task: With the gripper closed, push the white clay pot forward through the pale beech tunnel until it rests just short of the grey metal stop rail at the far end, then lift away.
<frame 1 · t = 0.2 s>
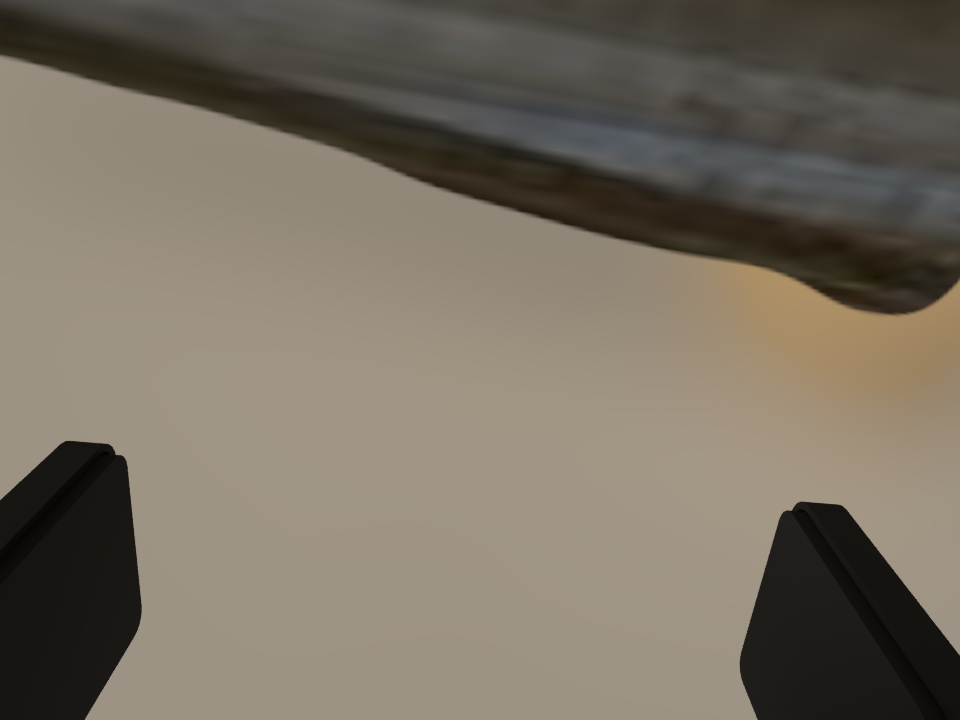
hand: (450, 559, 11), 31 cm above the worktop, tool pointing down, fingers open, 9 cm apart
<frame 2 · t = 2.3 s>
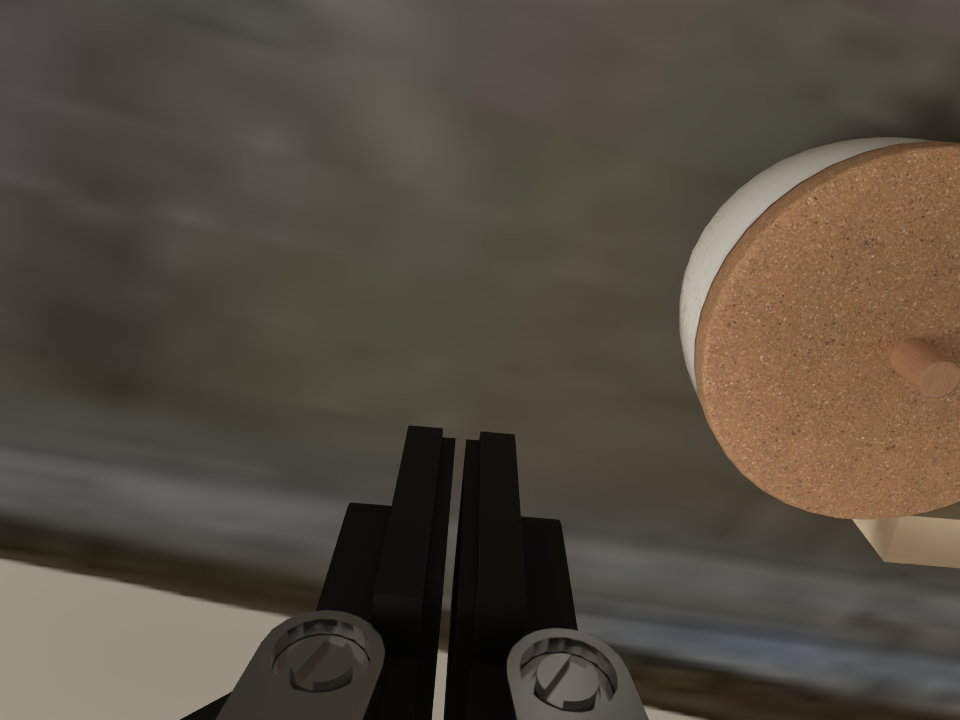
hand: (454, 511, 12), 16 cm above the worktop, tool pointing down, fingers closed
lidded jar: (795, 269, 27), on the worktop
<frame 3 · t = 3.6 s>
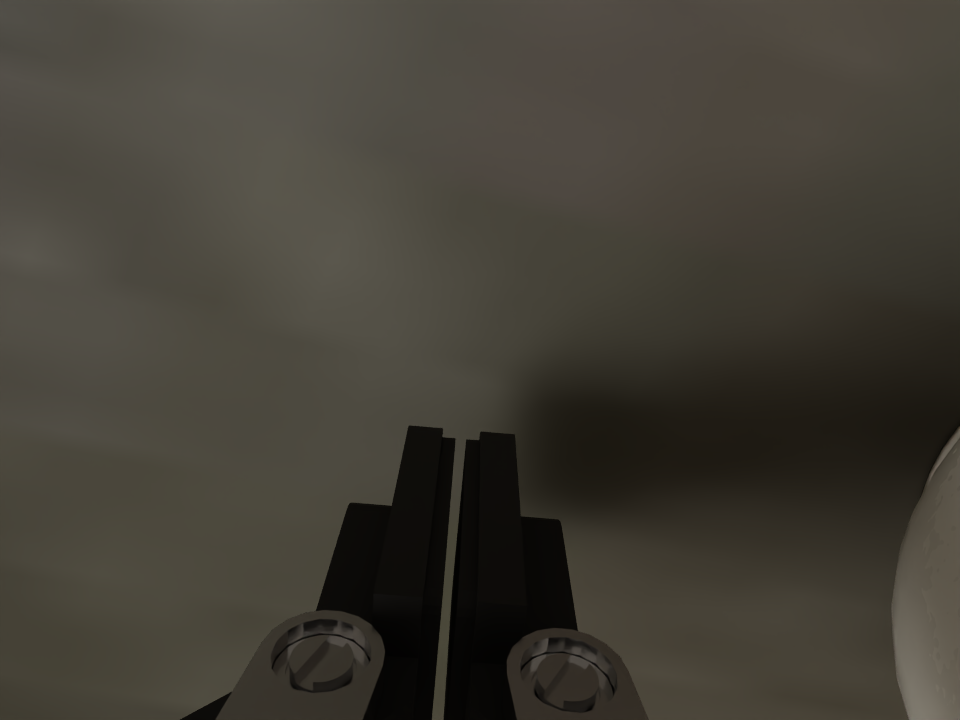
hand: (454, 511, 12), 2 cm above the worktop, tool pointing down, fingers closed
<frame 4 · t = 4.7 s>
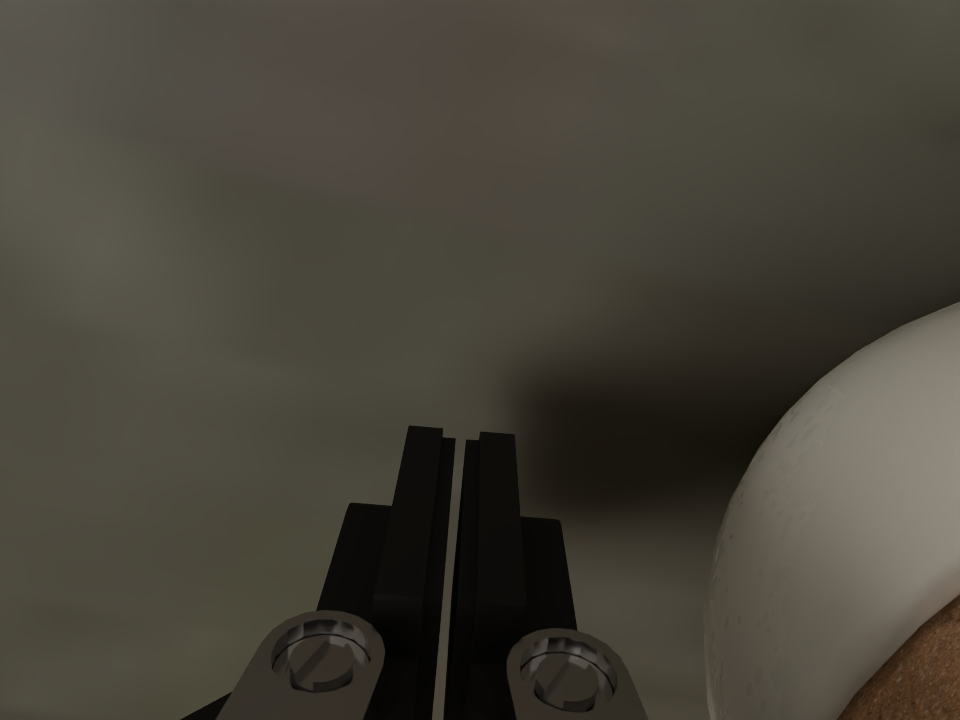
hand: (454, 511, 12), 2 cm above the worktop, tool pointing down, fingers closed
lidded jar: (923, 480, 14), on the worktop, touching gripper
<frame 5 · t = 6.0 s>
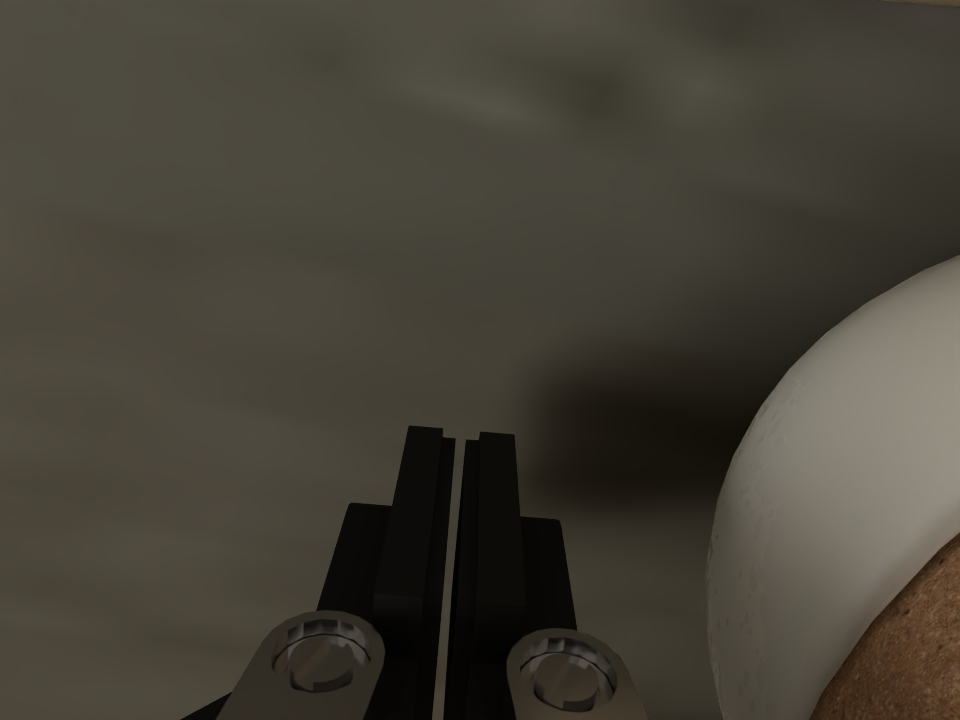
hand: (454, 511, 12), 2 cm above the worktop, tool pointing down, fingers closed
lidded jar: (923, 447, 14), on the worktop, touching gripper
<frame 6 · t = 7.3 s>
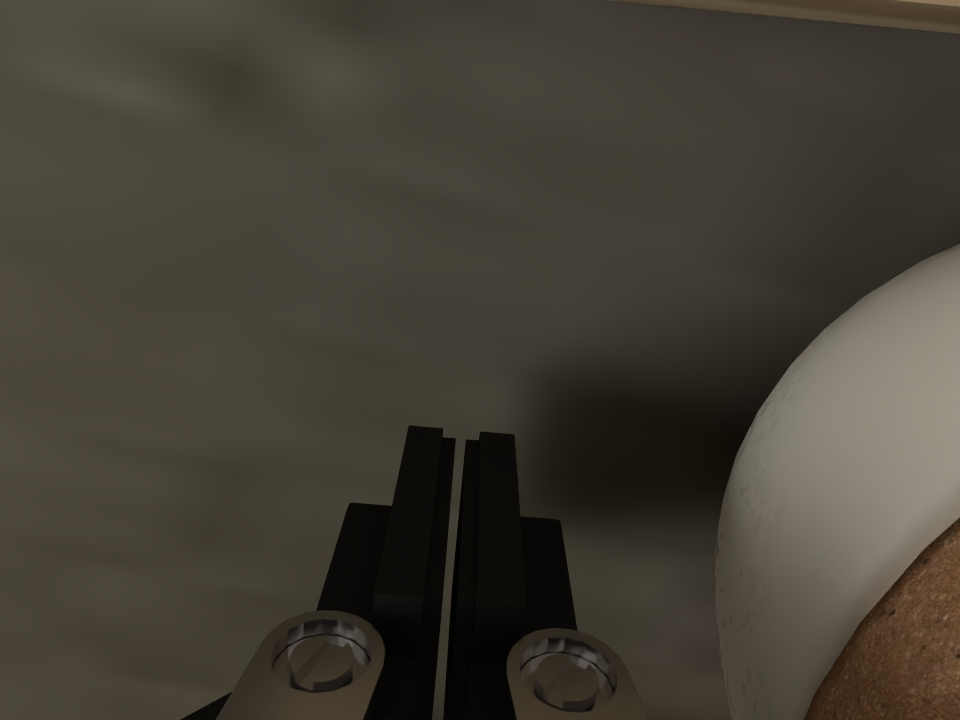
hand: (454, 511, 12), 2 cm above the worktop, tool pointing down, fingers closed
lidded jar: (937, 435, 14), on the worktop, touching gripper
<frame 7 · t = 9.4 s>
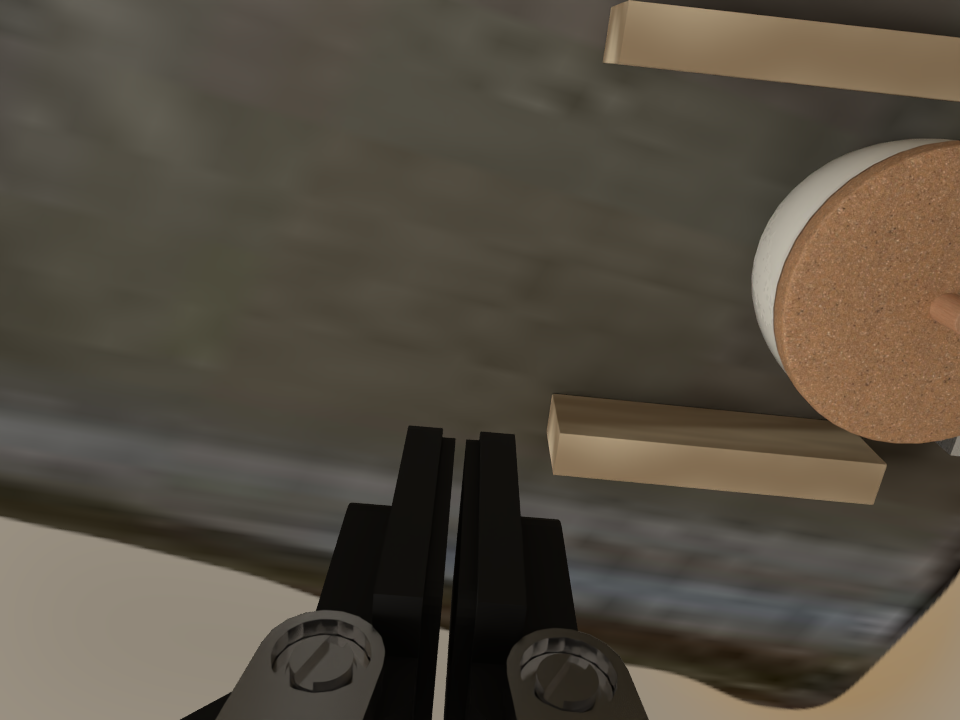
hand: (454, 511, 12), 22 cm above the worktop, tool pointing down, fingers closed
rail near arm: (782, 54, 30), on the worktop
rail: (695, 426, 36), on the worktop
lidded jar: (841, 250, 33), on the worktop
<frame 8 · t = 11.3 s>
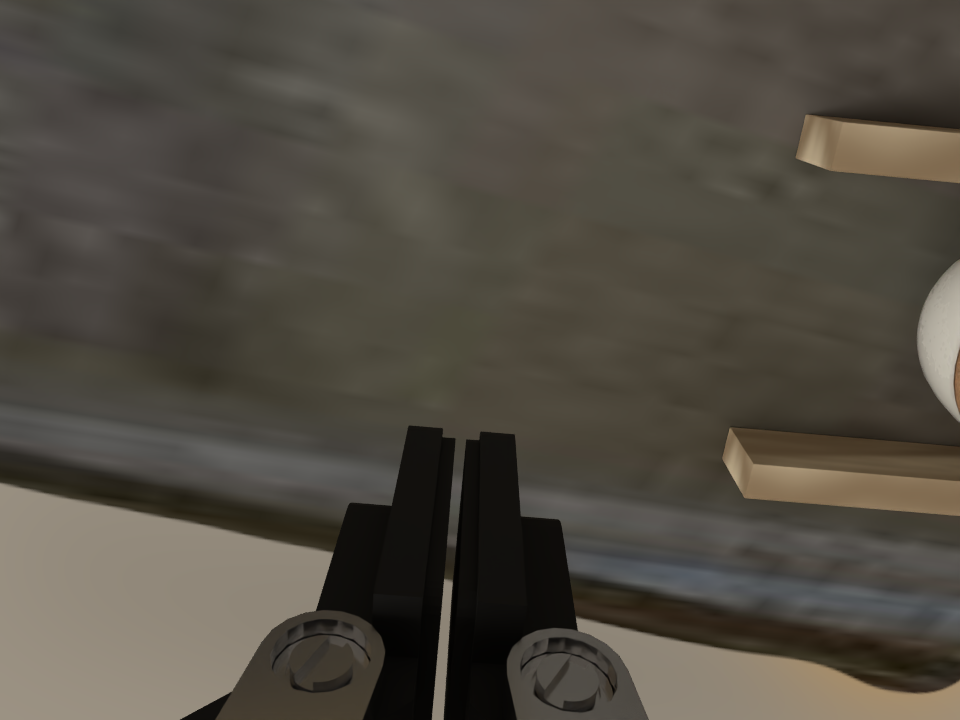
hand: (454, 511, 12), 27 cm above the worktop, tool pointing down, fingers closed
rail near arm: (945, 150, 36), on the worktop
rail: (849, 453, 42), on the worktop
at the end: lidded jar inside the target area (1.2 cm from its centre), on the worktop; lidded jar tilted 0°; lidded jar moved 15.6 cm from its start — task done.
